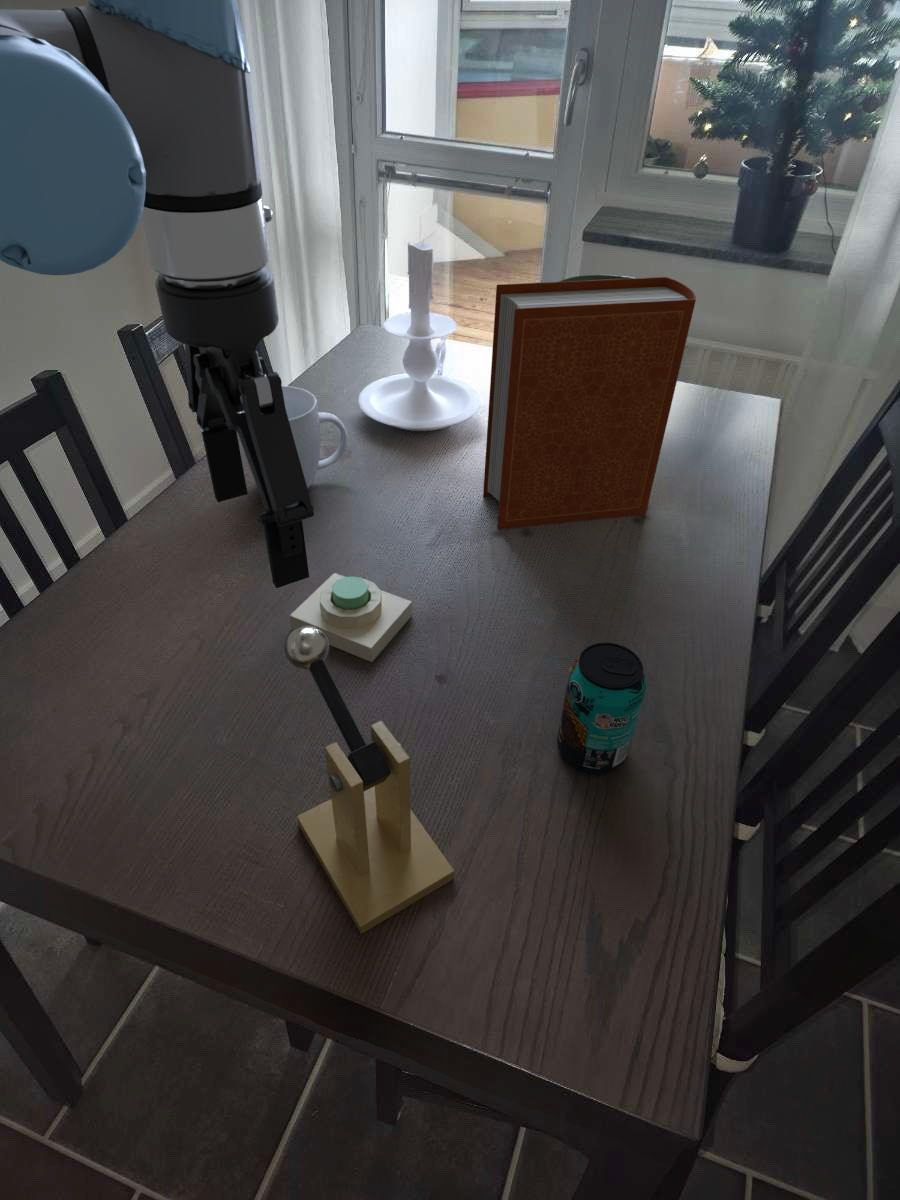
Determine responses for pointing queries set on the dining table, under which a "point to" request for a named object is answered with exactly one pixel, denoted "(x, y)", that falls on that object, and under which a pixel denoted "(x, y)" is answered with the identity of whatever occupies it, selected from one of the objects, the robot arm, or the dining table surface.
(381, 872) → the switch bracket
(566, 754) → the beverage can
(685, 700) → the dining table surface
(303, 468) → the mug
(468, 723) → the dining table surface
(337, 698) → the switch lever
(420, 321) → the candlestick
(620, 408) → the book
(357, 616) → the switch box
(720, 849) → the dining table surface
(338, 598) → the light button
